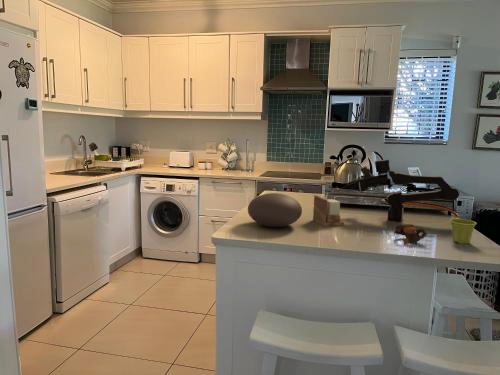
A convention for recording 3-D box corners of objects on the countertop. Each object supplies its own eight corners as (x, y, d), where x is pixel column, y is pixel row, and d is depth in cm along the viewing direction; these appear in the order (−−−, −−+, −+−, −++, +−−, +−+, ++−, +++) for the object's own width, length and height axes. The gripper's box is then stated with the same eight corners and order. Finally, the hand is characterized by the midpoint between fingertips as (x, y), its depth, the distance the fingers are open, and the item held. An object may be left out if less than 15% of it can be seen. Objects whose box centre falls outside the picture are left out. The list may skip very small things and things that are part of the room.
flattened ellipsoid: (291, 235, 158) (292, 201, 155) (238, 228, 168) (238, 195, 165) (307, 223, 180) (309, 192, 177) (259, 216, 190) (260, 187, 188)
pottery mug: (396, 245, 150) (392, 225, 154) (397, 249, 159) (394, 230, 162) (428, 241, 146) (424, 220, 149) (428, 245, 154) (424, 226, 157)
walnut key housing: (332, 219, 189) (334, 194, 187) (343, 225, 177) (345, 199, 175) (312, 219, 186) (314, 195, 184) (323, 226, 175) (324, 199, 173)
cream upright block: (332, 216, 186) (334, 199, 184) (339, 220, 179) (340, 202, 178) (322, 217, 185) (323, 199, 183) (329, 220, 178) (330, 202, 176)
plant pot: (452, 244, 151) (454, 223, 150) (444, 237, 161) (447, 218, 159) (477, 246, 150) (480, 225, 148) (468, 239, 159) (471, 219, 158)
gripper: (375, 163, 199) (345, 168, 204) (375, 167, 181) (342, 172, 187) (378, 184, 200) (348, 188, 205) (378, 189, 182) (345, 193, 188)
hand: (346, 185), depth 196 cm, fingers open, 9 cm apart
